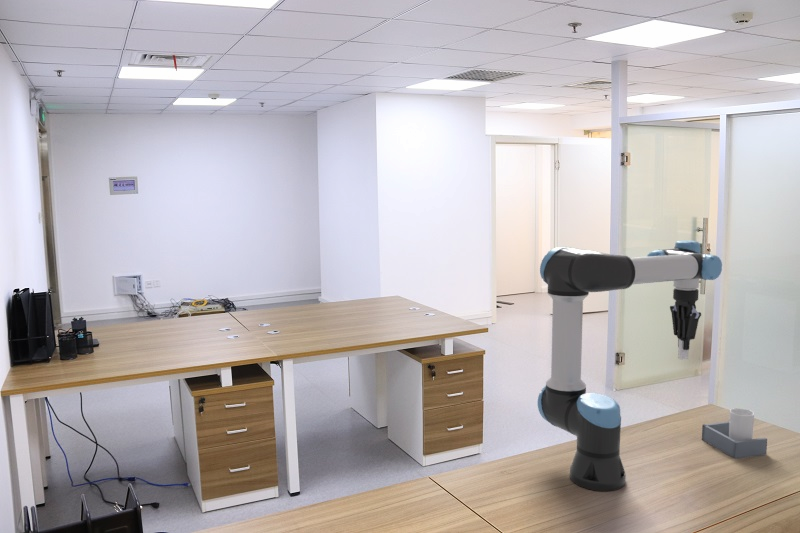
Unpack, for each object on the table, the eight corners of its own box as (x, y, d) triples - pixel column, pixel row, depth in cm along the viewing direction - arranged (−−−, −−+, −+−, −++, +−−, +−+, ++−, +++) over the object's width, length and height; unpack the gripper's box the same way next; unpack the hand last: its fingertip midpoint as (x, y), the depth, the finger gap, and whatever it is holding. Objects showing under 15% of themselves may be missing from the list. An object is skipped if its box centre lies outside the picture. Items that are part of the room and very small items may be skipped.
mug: (756, 453, 202) (758, 416, 200) (732, 453, 202) (734, 415, 201) (742, 440, 212) (744, 404, 210) (720, 440, 212) (722, 404, 210)
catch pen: (735, 458, 198) (736, 442, 198) (701, 439, 213) (702, 424, 212) (766, 454, 201) (767, 438, 200) (731, 435, 215) (731, 420, 215)
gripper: (709, 290, 210) (706, 362, 213) (683, 284, 222) (680, 352, 225) (688, 292, 208) (686, 365, 211) (663, 285, 220) (661, 354, 224)
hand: (683, 358), depth 218 cm, fingers closed
